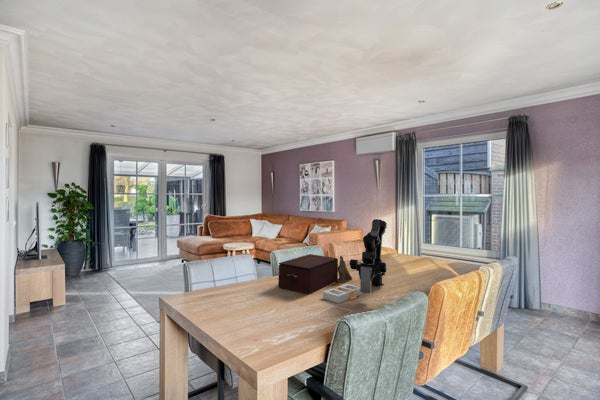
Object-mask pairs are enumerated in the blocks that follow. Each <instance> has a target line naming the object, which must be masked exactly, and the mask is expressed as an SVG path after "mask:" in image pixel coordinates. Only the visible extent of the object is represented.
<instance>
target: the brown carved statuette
mask: <svg viewBox="0 0 600 400" xmlns="http://www.w3.org/2000/svg"><path fill="white" fill-rule="evenodd" d="M350 281H353V277H352V275H351V274H350V271H349V269H348V268H347V265H346V262H345V260H344V256H342V255H340V256H339V263H338V279H337V280H336V282H335V283H341V284H344V283H346V282H350Z"/></svg>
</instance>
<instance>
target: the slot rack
mask: <svg viewBox="0 0 600 400" xmlns="http://www.w3.org/2000/svg"><path fill="white" fill-rule="evenodd" d="M363 294H364V293H362V292H360V286H358V285H355V284H354V285H353V284H349V283H346V284H342V285H340V286H337V287H333V288H330V289H327V290H322V299H324V300H327V301H330V302H333V303H337V304H340V303H342V302H346V301H354V300H356V299H358V298H357V297H359V296H362V295H363Z"/></svg>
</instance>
